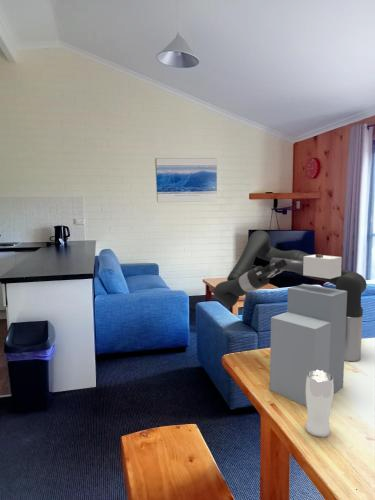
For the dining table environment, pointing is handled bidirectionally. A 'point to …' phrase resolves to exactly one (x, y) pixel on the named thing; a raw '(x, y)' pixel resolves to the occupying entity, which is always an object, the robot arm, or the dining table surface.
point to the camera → (314, 266)
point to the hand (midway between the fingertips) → (288, 261)
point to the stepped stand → (308, 339)
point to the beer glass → (318, 402)
